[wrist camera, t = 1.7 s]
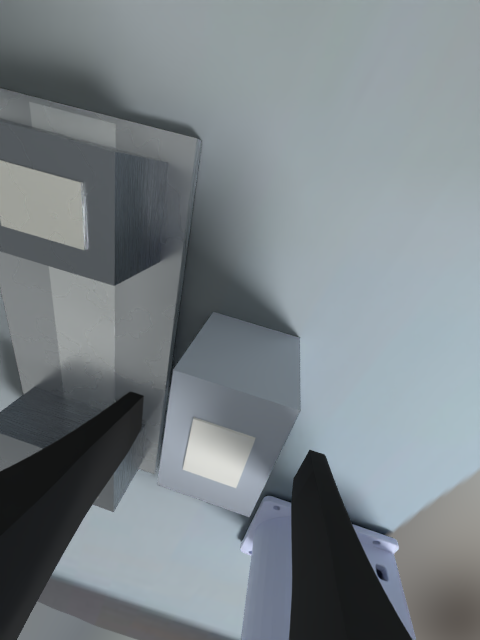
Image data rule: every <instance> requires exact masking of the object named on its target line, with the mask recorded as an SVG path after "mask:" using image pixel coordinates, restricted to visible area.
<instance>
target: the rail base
mask: <svg viewBox="0 0 480 640" xmlns="http://www.w3.org/2000/svg"><path fill="white" fill-rule="evenodd" d="M201 146H202V141H201V140H199V139H197V138H193V137H190V136H186V135H182V134H178V133H174V132H170V131H166V130H162V129H158V128H154V127H151V126H147V125H143V124H139V123H135V122H131V121H127V120H123V119H119V118H115V117H111V116H108V115H104V114H100V113H96V112H92V111H88V110H84V109H80V108H76V107H72V106H69V105H65V104H61V103H57V102H53V101H49V100H45V99H41V98H37V97H33V96H30V95H26V94H22V93H18V92H14V91H10V90H6V89H2V88H0V288H1V293H2V298H3V302H4V307H5V312H6V316H7V321H8V325H9V330H10V335H11V339H12V344H13V348H14V353H15V358H16V362H17V367H18V371H19V376H20V381H21V385H22V390H23V395H22V396H21V397H20V398H18V399H17V400H16V401H14V402H13V403H12V404H10V405H9V406H8V407H6V408H5V409H4V410H2V411H1V412H0V471H2V470H4V469H6V468H8V467H10V466H12V465H14V464H16V463H18V462H20V461H22V460H23V459H25V458H27V457H29V456H31V455H33V454H35V453H36V452H38V451H40V450H42V449H43V448H45V447H47V446H49V445H50V444H52V443H54V442H55V441H57V440H59V439H60V438H62V437H64V436H65V435H67V434H68V433H70V432H72V431H73V430H75V429H76V428H78V427H80V426H81V425H83V424H84V423H86V422H87V421H89V420H90V419H92V418H93V417H95V416H96V415H97V414H99V413H100V412H102V411H103V410H105V409H106V408H107V407H109V406H110V405H112V404H113V403H114V402H116V401H117V400H119V399H120V398H121V397H123V396H124V395H125V394H127V393H128V392H130V391H131V392H134V393H137V394H140V395H143V396H144V401H143V415H142V428H141V430H140V432H139V434H138V436H137V437H136V439H135V441H134V443H133V445H132V447H131V448H130V450H129V452H128V453H127V455H126V456H125V458H124V459H123V461H122V462H121V464H120V465H119V467H118V468H117V470H116V471H115V472H114V474H113V475H112V477H111V478H110V480H109V481H108V483H107V484H106V485H105V487H104V488H103V490H102V491H101V493H100V494H99V496H98V497H97V499H96V500H95V501H94V503H93V505H96V506H99V507H101V508H104V509H107V510H110V511H112V512H114V510H115V509H116V507H117V505H118V503H119V502H120V500H121V498H122V496H123V495H124V493H125V491H126V489H127V488H128V486H129V484H130V482H131V481H132V479H133V477H134V475H135V474H136V472H137V470H138V469H141V470H144V471H147V472H150V473H153V474H155V472H156V470H157V468H158V465H159V457H160V450H161V442H162V435H163V427H164V420H165V413H166V405H167V398H168V390H169V383H170V376H171V368H172V361H173V353H174V346H175V338H176V331H177V324H178V316H179V309H180V301H181V294H182V287H183V279H184V272H185V264H186V257H187V249H188V242H189V235H190V227H191V220H192V212H193V205H194V198H195V190H196V183H197V175H198V168H199V160H200V153H201Z"/></svg>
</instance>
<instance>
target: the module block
mask: <svg viewBox="0 0 480 640" xmlns="http://www.w3.org/2000/svg"><path fill="white" fill-rule="evenodd" d="M299 413H300V338H299V337H296V336H292V335H289V334H286V333H282V332H279V331H276V330H272V329H269V328H266V327H262V326H259V325H256V324H253V323H249V322H246V321H243V320H239V319H236V318H233V317H229V316H226V315H223V314H219V313H216V312H213V313H212V314H211V316H210V317H209V319H208V320H207V322H206V323H205V324H204V326H203V327H202V329H201V330H200V332H199V333H198V335H197V336H196V337H195V339H194V340H193V342H192V343H191V345H190V346H189V348H188V349H187V350H186V352H185V353H184V355H183V356H182V358H181V359H180V360H179V362H178V363H177V365H176V366H175V368H174V369H173V374H172V381H171V388H170V395H169V403H168V410H167V417H166V424H165V431H164V438H163V446H162V453H161V460H160V467H159V474H158V482H157V485H159V486H162V487H165V488H168V489H170V490H173V491H176V492H179V493H182V494H185V495H187V496H190V497H193V498H196V499H199V500H201V501H204V502H207V503H210V504H213V505H216V506H218V507H221V508H224V509H227V510H230V511H232V512H235V513H238V514H241V515H244V516H247V517H250V515H251V513H252V511H253V509H254V507H255V505H256V503H257V501H258V499H259V496H260V494H261V492H262V490H263V488H264V486H265V484H266V482H267V480H268V478H269V476H270V473H271V471H272V469H273V467H274V465H275V463H276V461H277V459H278V457H279V455H280V453H281V450H282V448H283V446H284V444H285V442H286V440H287V438H288V436H289V434H290V432H291V429H292V427H293V425H294V423H295V421H296V419H297V417H298V415H299Z"/></svg>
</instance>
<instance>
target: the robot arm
mask: <svg viewBox="0 0 480 640" xmlns="http://www.w3.org/2000/svg"><path fill="white" fill-rule="evenodd" d="M143 401H144V396H143V395H140V394H137V393H134V392H131V391H130V392H128V393H127V394H125V395H124V396H123V397H121V398H120V399H119V400H117V401H116V402H114V403H113V404H112V405H110V406H109V407H107V408H106V409H105V410H103V411H102V412H100V413H99V414H97V415H96V416H95V417H93V418H92V419H90V420H89V421H87V422H86V423H84V424H83V425H81V426H80V427H78V428H76V429H75V430H73V431H72V432H70V433H68V434H67V435H65V436H64V437H62V438H60V439H59V440H57V441H55V442H54V443H52V444H50V445H49V446H47V447H45V448H43V449H42V450H40V451H38V452H36V453H35V454H33V455H31V456H29V457H27V458H25V459H23V460H22V461H20V462H18V463H16V464H14V465H12V466H10V467H8V468H6V469H4V470H2V471H0V640H17V638H18V636H19V634H20V633H21V631H22V628H23V627H24V625H25V623H26V621H27V619H28V617H29V615H30V613H31V612H32V610H33V608H34V606H35V604H36V602H37V600H38V599H39V597H40V595H41V593H42V591H43V589H44V587H45V586H46V584H47V582H48V580H49V578H50V576H51V575H52V573H53V571H54V569H55V567H56V566H57V564H58V562H59V560H60V559H61V557H62V555H63V553H64V551H65V550H66V548H67V546H68V544H69V543H70V541H71V539H72V537H73V536H74V534H75V532H76V531H77V529H78V527H79V525H80V524H81V522H82V520H83V518H84V517H85V515H86V514H87V512H88V511H89V509H90V507H91V506H92V504H93V503H94V501H95V500H96V499H97V497H98V496H99V494H100V493H101V491H102V490H103V488H104V487H105V485H106V484H107V483H108V481H109V480H110V478H111V477H112V475H113V474H114V472H115V471H116V470H117V468H118V467H119V465H120V464H121V462H122V461H123V459H124V458H125V456H126V455H127V453H128V452H129V450H130V448H131V447H132V445H133V443H134V441H135V439H136V437H137V436H138V434H139V432H140V430H141V428H142V415H143ZM398 549H399V546H398V542H397V540H396V539H394V538H392V537H389V536H386V535H383V534H380V533H377V532H374V531H371V530H368V529H365V528H363V527H360V526H357V525H354V524H352V523H351V520H350V518H349V516H348V513H347V511H346V508H345V506H344V504H343V501H342V499H341V496H340V494H339V491H338V488H337V486H336V483H335V481H334V478H333V475H332V473H331V470H330V467H329V464H328V461H327V459H326V456H325V455H324V454H321V453H318V452H315V451H312V450H309V452H308V454H307V456H306V458H305V459H304V461H303V463H302V465H301V466H300V468H299V470H298V472H297V474H296V475H295V477H294V480H293V490H292V502H291V503H290V502H287V501H284V500H281V499H278V498H275V497H273V496H265V497H264V498H263V500H262V502H261V504H260V506H259V508H258V510H257V512H256V514H255V516H254V518H253V520H252V522H251V524H250V526H249V528H248V530H247V532H246V534H245V536H244V539H243V541H242V543H241V547H240V550H241V551H242V552H243V553H246V554H248V555H251V563H250V571H249V579H248V587H247V595H246V602H245V610H244V618H243V626H242V634H241V640H416V637H415V633H414V629H413V626H412V622H411V618H410V614H409V610H408V606H407V603H406V599H405V595H404V591H403V587H402V584H401V580H400V576H399V572H398V568H397V564H396V561H395V557H394V553H395V552H396V551H397V550H398Z"/></svg>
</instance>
